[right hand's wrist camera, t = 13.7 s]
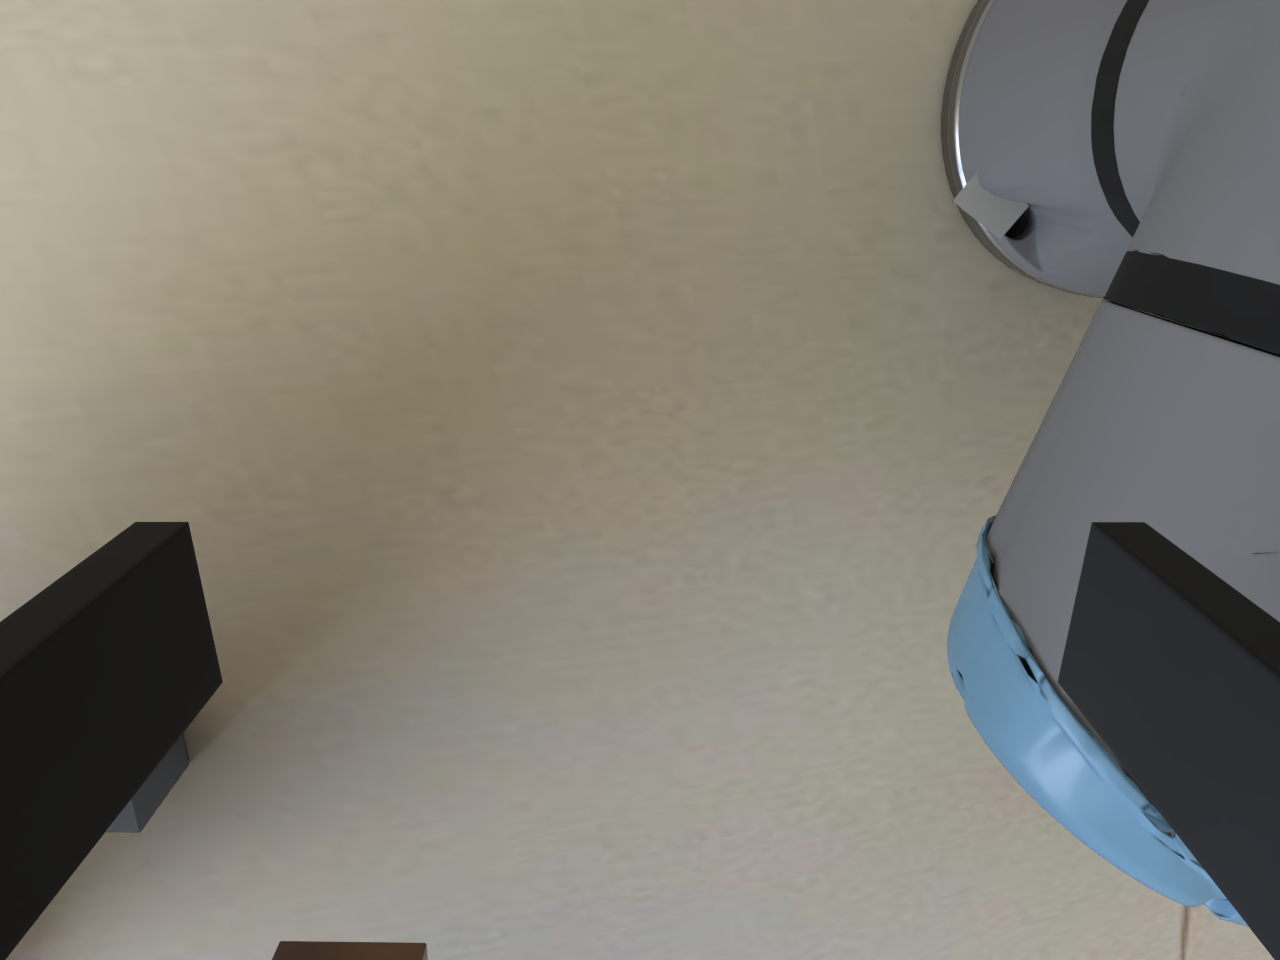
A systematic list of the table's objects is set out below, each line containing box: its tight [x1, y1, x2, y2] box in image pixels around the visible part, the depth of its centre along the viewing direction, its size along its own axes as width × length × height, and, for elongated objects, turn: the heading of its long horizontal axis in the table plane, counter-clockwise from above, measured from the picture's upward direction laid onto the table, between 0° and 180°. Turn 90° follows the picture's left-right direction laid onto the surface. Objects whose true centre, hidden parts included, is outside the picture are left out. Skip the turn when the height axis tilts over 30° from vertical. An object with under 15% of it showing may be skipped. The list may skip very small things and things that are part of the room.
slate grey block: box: [106, 733, 189, 833], centre depth 43 cm, size 5×5×5 cm
